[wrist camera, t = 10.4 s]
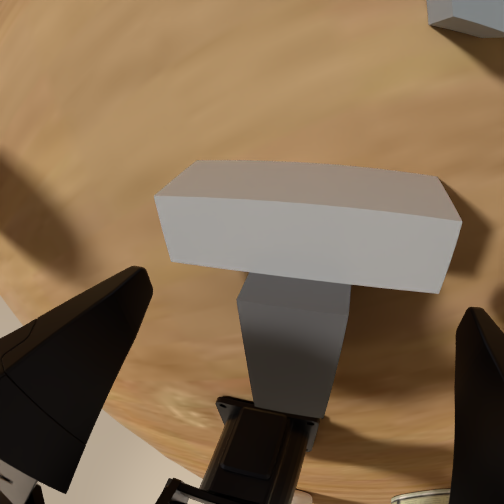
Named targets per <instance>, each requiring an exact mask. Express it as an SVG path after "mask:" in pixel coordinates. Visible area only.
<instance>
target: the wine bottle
mask: <svg viewBox="0 0 504 504" xmlns="http://www.w3.org/2000/svg"><path fill="white" fill-rule="evenodd" d="M291 504H312V496H311V495H310V494H308V493H306V492H303V491H300V490H295V493H294V496H293V500H292V503H291Z"/></svg>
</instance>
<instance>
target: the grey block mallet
mask: <svg viewBox="0 0 504 504" xmlns="http://www.w3.org/2000/svg"><path fill="white" fill-rule="evenodd" d="M154 199H155V203H156V207H157V211H158V215H159V219H160V222H161V226H162V230H163V234H164V238H165V241H166V245H167V249H168V252H169V256H170V259H171V262H178V263H185V264H192V265H199V266H207V267H214V268H221V269H229V270H236V271H244V272H249V274H248V276H247V279H246V281H245V283H244V285H243V287H242V289H241V291H240V293H239V296H238V298H237V306H238V313H239V319H240V325H241V331H242V337H243V343H244V349H245V355H246V361H247V367H248V373H249V378H250V384H251V390H252V395H253V401H254V406H255V407H259V408H264V409H269V410H274V411H279V412H285V413H290V414H296V415H302V416H308V417H315V418H322V419H323V418H324V414H325V411H326V407H327V404H328V400H329V397H330V393H331V389H332V385H333V381H334V378H335V374H336V370H337V365H338V361H339V357H340V353H341V348H342V344H343V339H344V335H345V330H346V325H347V321H348V316H349V305H350V293H351V285H360V286H369V287H378V288H387V289H397V290H406V291H416V292H426V293H436V294H439V292H440V289H441V286H442V284H443V281H444V278H445V276H446V273H447V270H448V267H449V264H450V261H451V258H452V255H453V252H454V249H455V246H456V243H457V239H458V236H459V233H460V229H461V226H462V220H461V218H460V216H459V214H458V212H457V210H456V208H455V207H454V205H453V203H452V201H451V199H450V198H449V196H448V194H447V192H446V191H445V189H444V187H443V185H442V184H441V182H440V180H439V179H438V177H436V176H429V175H423V174H416V173H408V172H401V171H393V170H385V169H376V168H366V167H356V166H345V165H333V164H319V163H303V162H283V161H252V160H197V161H195V162H194V163H193V164H192V165H190V166H189V167H188V168H187V169H185V170H184V171H183V172H182V173H180V174H179V175H178V176H177V177H176V178H174V179H173V180H172V181H171V182H170V183H168V184H167V185H166V186H165V187H164V188H162V189H161V190H160V191H159V192H158V193H157V194H155V195H154Z"/></svg>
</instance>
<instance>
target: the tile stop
mask: <svg viewBox="0 0 504 504" xmlns="http://www.w3.org/2000/svg"><path fill="white" fill-rule="evenodd" d="M427 10H428V24H429V25H432V26H437V27H441V28H446V29H450V30H454V31H458V32H462V33H465V34H469V35H473V36H476V37H479V38H502V37H504V0H427Z"/></svg>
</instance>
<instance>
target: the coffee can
mask: <svg viewBox="0 0 504 504" xmlns="http://www.w3.org/2000/svg"><path fill="white" fill-rule="evenodd" d="M449 497H450V489H437V490H428V491H420V492H413V493H408V494H403V495H398V496H395V497H393V498H392V499H391V501H392V502H391V504H449Z"/></svg>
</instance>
